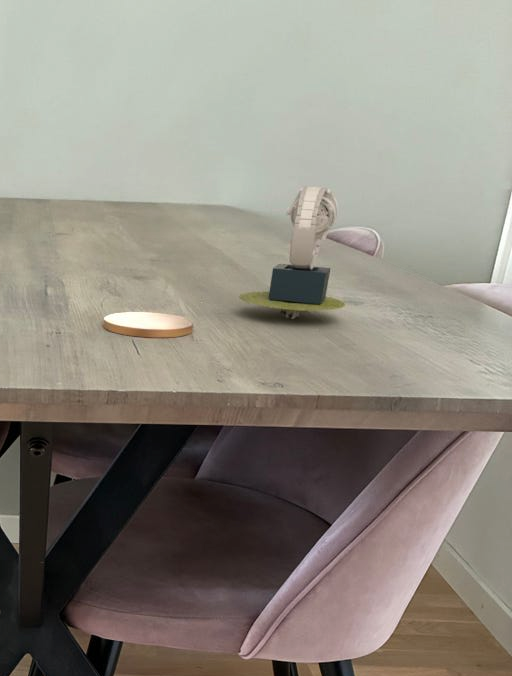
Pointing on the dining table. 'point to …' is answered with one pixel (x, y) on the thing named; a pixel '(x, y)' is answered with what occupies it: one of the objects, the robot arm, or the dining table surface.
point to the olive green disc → (290, 304)
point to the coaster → (148, 324)
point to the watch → (306, 248)
